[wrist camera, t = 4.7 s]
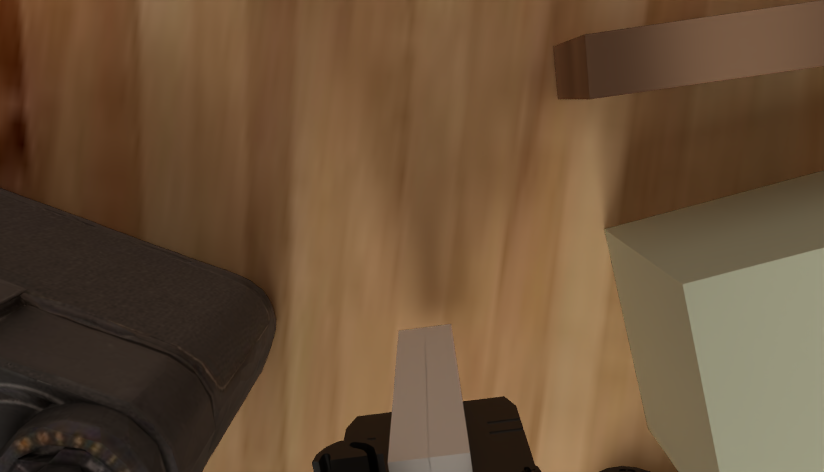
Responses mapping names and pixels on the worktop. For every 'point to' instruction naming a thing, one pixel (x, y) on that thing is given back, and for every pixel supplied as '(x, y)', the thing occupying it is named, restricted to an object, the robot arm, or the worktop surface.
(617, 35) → the pair of brown rails
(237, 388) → the camera
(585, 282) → the worktop surface
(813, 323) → the block
